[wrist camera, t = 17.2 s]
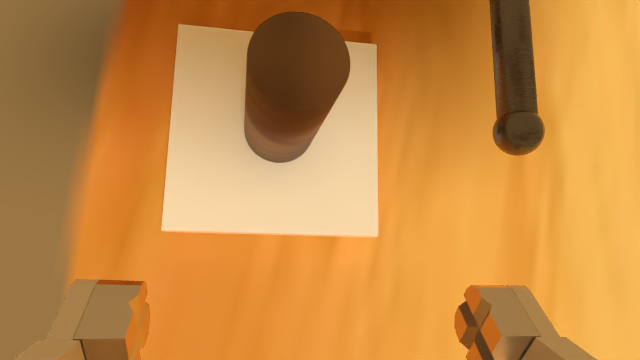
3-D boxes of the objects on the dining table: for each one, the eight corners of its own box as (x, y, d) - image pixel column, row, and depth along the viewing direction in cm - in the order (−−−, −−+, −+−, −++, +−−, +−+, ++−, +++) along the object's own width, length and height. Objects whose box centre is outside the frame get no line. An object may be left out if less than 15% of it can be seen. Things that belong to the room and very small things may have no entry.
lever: (435, -63, 31) (529, -221, 21) (444, 191, 28) (562, 150, 18) (403, -68, 31) (483, -231, 21) (408, 189, 27) (507, 147, 17)
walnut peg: (313, 99, 26) (350, 17, 18) (312, 164, 26) (350, 112, 17) (245, 94, 26) (248, 6, 17) (242, 161, 25) (244, 105, 16)
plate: (371, 51, 29) (376, 44, 28) (373, 237, 26) (378, 236, 25) (180, 32, 27) (178, 23, 26) (164, 231, 24) (161, 230, 23)
